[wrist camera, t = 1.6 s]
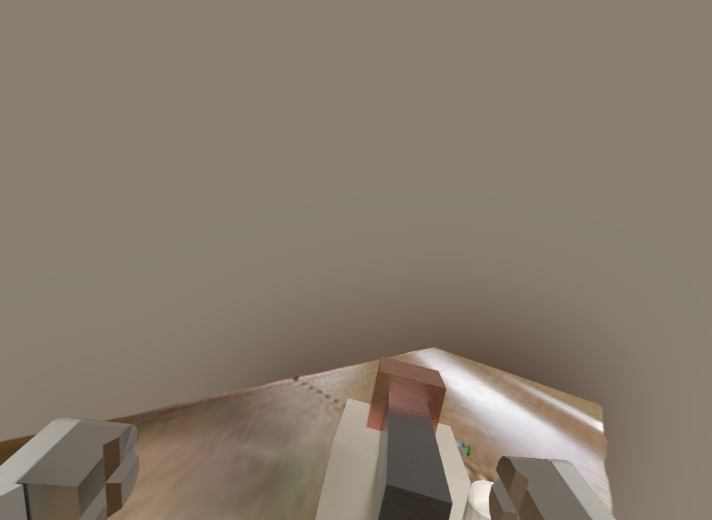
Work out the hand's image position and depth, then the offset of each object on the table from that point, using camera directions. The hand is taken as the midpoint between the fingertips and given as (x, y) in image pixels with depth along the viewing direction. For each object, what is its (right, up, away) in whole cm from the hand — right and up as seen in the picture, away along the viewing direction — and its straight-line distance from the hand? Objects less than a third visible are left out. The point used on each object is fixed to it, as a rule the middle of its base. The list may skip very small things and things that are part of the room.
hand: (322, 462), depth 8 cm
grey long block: (+4, -10, +18) cm, 21 cm away
